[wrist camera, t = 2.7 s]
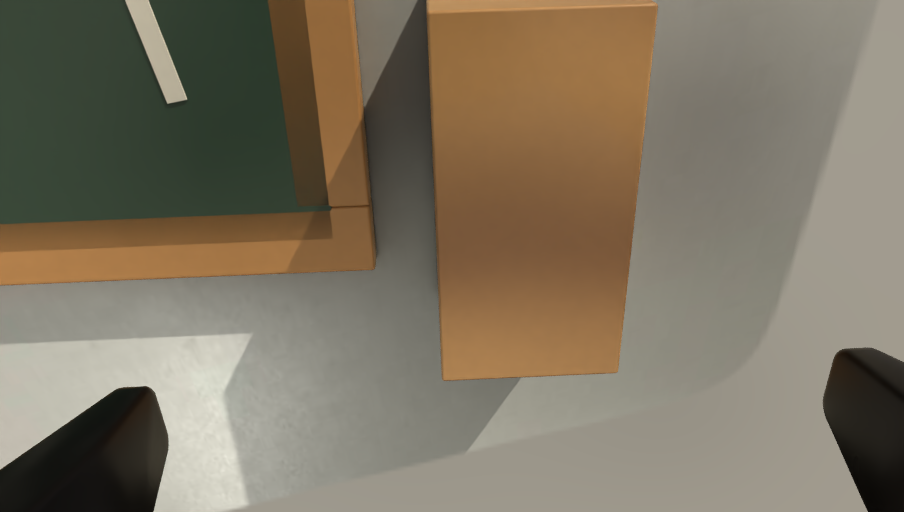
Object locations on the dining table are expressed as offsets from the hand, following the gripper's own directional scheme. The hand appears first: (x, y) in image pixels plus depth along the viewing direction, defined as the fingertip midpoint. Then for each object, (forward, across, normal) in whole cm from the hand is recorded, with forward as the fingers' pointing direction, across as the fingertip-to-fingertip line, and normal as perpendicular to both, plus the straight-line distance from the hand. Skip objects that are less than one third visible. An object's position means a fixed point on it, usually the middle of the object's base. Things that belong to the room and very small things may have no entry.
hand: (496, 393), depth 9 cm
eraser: (+11, -2, +1) cm, 11 cm away
